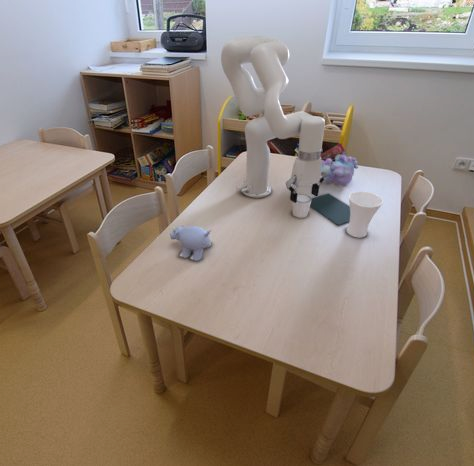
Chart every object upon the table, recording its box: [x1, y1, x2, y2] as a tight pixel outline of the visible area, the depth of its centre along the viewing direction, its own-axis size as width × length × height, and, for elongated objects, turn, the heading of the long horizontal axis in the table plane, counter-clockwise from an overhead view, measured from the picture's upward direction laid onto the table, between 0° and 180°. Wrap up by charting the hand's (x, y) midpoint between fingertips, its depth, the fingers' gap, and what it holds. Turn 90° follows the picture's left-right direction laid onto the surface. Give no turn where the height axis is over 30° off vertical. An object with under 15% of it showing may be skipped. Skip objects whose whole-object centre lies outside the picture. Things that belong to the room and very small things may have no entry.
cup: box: [346, 191, 384, 238], centre depth 112 cm, size 10×10×14 cm
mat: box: [310, 193, 350, 226], centre depth 129 cm, size 13×20×1 cm, turn 24°
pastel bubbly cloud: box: [320, 142, 359, 187], centre depth 146 cm, size 20×22×18 cm
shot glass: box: [292, 193, 312, 219], centre depth 126 cm, size 7×7×7 cm
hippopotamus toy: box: [169, 224, 213, 262], centre depth 110 cm, size 11×15×10 cm
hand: (303, 198), depth 123 cm, fingers open, 9 cm apart
